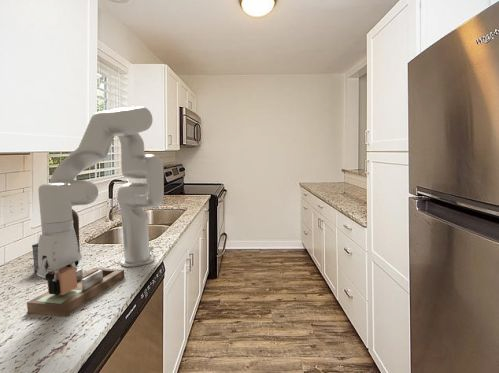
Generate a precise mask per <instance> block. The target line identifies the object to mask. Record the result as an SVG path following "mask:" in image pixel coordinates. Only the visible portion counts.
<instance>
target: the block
mask: <svg viewBox="0 0 499 373" xmlns="http://www.w3.org/2000/svg"><path fill="white" fill-rule="evenodd" d="M76 268H77V267H63V268H60V269H59V271H58V278H57V280H59V282H60V295H64V294H66V293H68V292H70V291H71V290H73V289H75V288H77V278H76ZM51 275H53V272H51ZM46 282H47V284H48V281H46ZM47 292H48V294H49V286H48V285H47Z"/></svg>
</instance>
